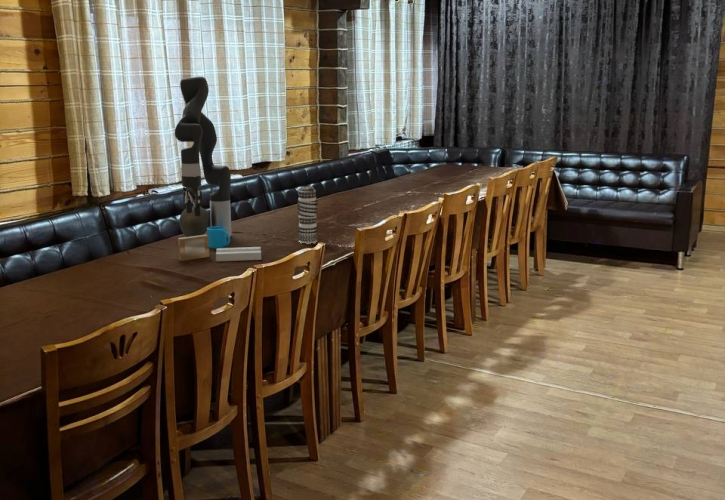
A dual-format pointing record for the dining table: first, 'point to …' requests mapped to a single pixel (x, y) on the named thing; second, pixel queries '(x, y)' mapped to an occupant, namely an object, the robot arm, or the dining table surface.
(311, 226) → the decorative candle
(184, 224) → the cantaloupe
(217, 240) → the mug
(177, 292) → the dining table surface
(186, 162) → the robot arm
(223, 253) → the notched stand
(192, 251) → the picture frame
